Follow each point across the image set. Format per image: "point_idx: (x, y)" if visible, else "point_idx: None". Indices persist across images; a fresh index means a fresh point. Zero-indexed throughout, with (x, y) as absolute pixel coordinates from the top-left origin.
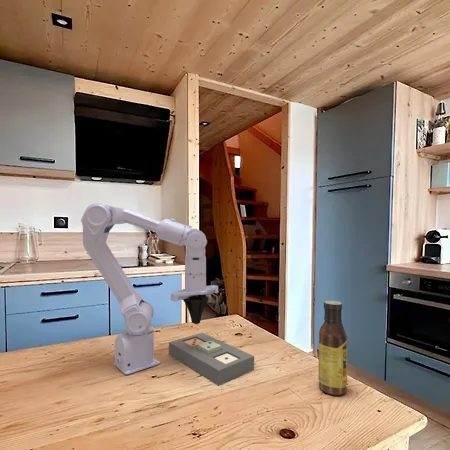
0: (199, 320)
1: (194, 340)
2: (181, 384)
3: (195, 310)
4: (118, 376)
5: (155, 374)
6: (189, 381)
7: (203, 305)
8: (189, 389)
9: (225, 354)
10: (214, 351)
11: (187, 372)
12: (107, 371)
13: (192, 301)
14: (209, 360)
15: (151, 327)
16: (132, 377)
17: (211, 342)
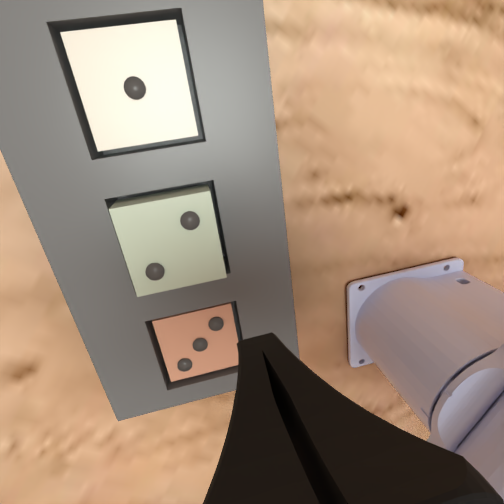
0: (251, 349)
1: (190, 360)
2: (359, 102)
3: (346, 402)
4: (472, 263)
5: (390, 222)
6: (324, 106)
7: (250, 465)
8: (356, 45)
9: (115, 142)
10: (163, 195)
11: (295, 179)
12: None
13: (497, 499)
14: (239, 109)
15: (459, 401)
16: (449, 238)
17: (148, 266)
